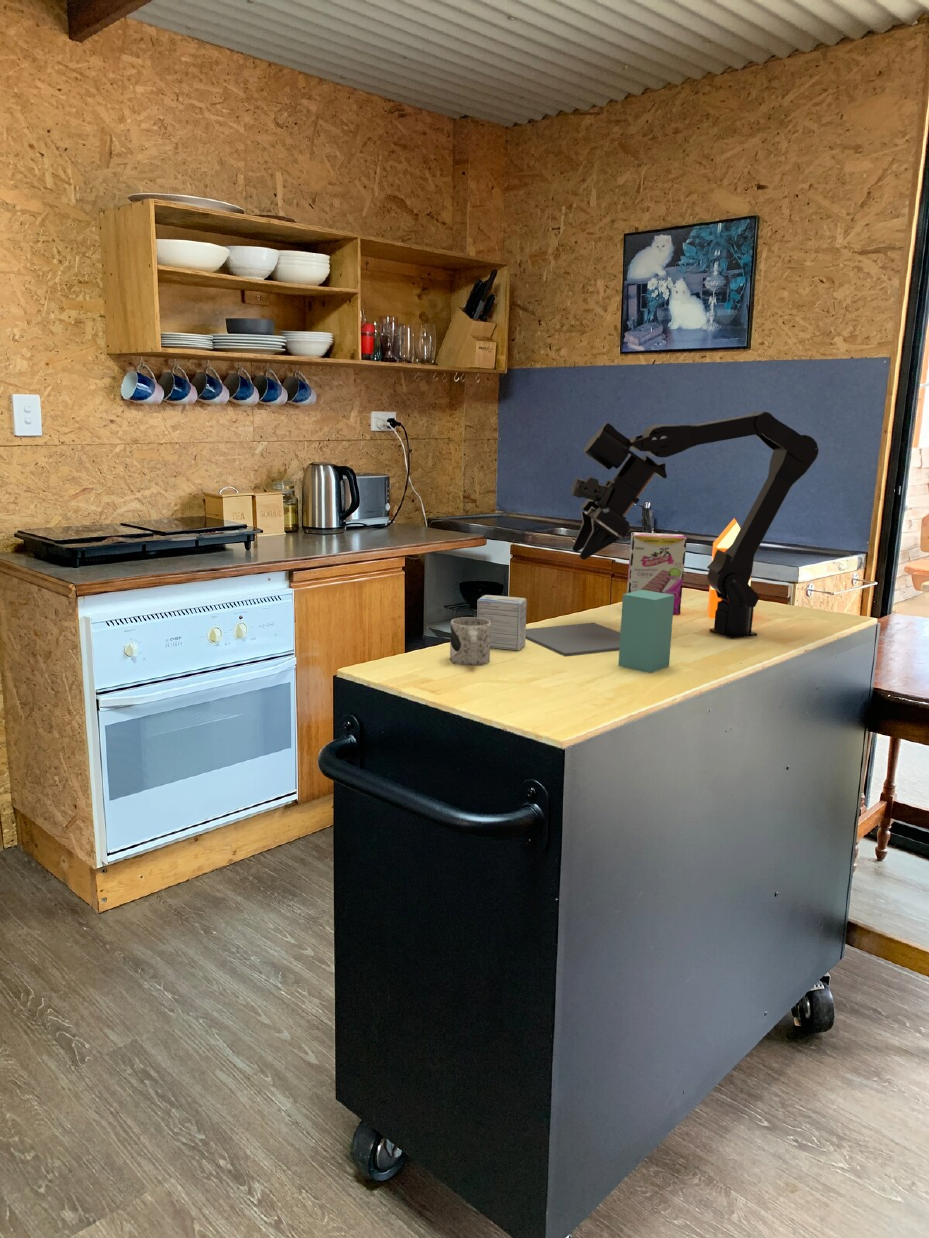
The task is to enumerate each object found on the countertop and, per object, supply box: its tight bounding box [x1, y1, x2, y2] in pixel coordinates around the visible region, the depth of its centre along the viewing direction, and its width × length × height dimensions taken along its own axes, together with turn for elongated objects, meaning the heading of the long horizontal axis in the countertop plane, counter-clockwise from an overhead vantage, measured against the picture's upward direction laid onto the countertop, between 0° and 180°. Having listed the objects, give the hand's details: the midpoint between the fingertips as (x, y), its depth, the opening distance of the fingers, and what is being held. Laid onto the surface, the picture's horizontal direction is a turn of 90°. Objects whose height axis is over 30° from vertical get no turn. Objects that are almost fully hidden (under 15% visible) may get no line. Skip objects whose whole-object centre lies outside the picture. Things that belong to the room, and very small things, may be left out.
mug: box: [449, 616, 491, 667], centre depth 152 cm, size 10×7×7 cm, turn 4°
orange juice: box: [707, 517, 752, 620], centre depth 192 cm, size 8×9×20 cm
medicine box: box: [476, 594, 528, 651], centre depth 163 cm, size 8×4×9 cm, turn 71°
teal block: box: [618, 590, 674, 674], centre depth 152 cm, size 6×6×12 cm
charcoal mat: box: [526, 622, 621, 657], centre depth 170 cm, size 18×18×1 cm
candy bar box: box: [626, 531, 687, 616], centre depth 193 cm, size 11×5×16 cm, turn 84°
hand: (577, 554), depth 173 cm, fingers open, 9 cm apart
